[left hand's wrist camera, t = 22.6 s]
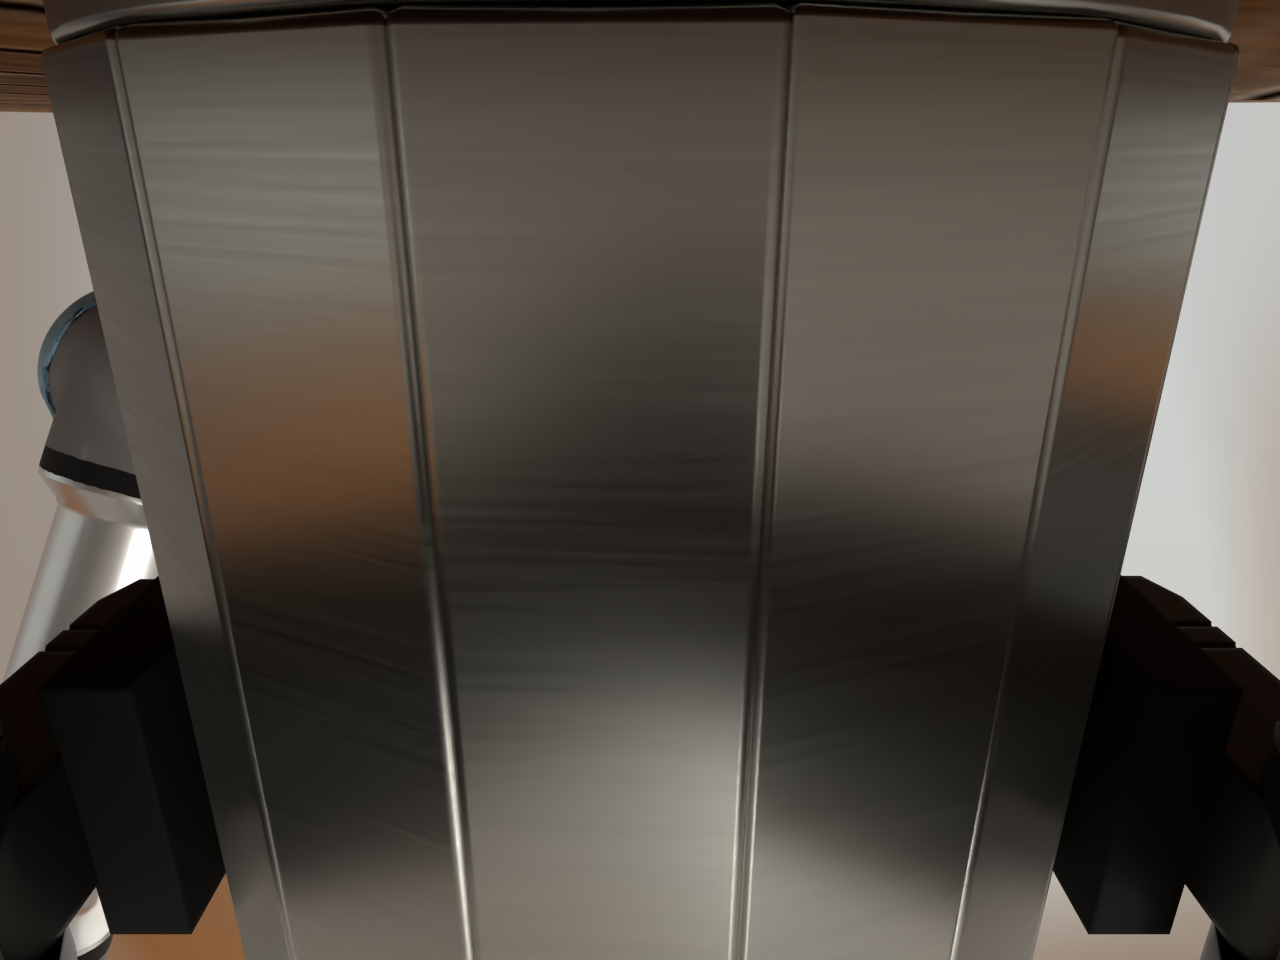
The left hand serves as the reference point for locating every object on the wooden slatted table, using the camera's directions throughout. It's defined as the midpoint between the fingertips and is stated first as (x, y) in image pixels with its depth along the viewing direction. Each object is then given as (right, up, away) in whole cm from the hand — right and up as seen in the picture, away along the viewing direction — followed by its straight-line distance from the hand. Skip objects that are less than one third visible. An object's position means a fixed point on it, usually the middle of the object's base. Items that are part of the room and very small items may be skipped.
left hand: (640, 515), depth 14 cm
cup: (0, +4, -7) cm, 8 cm away
